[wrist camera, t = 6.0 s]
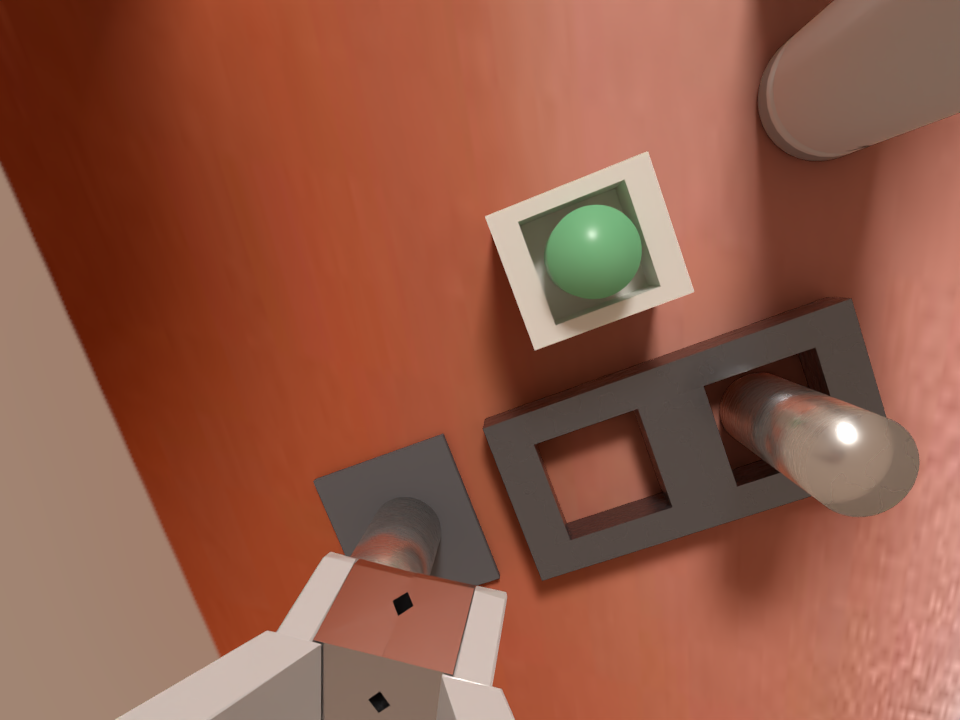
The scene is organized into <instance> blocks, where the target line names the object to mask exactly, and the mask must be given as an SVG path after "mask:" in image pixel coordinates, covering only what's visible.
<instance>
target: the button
mask: <svg viewBox="0 0 960 720" xmlns="http://www.w3.org/2000/svg"><path fill="white" fill-rule="evenodd" d="M641 255H642V245H641V240H640V236H639V233H638V231H637V229H636V227H635V225H634V224H633V223H632V221H631V220H630V219H629V218H628V217H627V216H626V215H625V214H623V213H622V212H621V211H619V210H617V209H615V208H612V207H609V206H605V205H588V206H584V207H580V208H578V209H576V210H574V211H572V212H570V213H569V214H567V215H566V216H565V217H564V218H563V219H562V220H561V221H560V222H559V223H558V224H557V226H556V227H555V228H554V230H553V231H552V232H551V234H550V236H549V238H548V240H547V242H546V245H545V250H544V262H545V267H546V270H547V273H548V275H549V277H550V278H551V280H552V281H553V282H554V284H555V285H556V286H557V287H559V288H560V289H561V290H563V291H565V292H566V293H569V294H571V295H574V296H577V297H581V298H585V299H601V298H606V297H609V296H611V295H614V294H616V293H617V292H619V291H621V290H622V289H623V288H625V287H626V286H627V285H628V284H629V283H630V281H631V280H632V279H633V277H634V276H635V274H636V272H637V270H638V268H639V265H640V261H641Z"/></svg>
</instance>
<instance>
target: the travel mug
mask: <svg viewBox="0 0 960 720" xmlns="http://www.w3.org/2000/svg"><path fill="white" fill-rule="evenodd" d="M758 109H759V115H760V118H761V122H762V125H763V127H764V129H765V131H766V133H767V134H768V136H769V137H770V138H771V140H772V141H773V142H774V143H775V144H776V145H777V146H778V147H779V148H781V149H782V150H783V151H785V152H786V153H788V154H790V155H792V156H794V157H796V158H800V159H804V160H809V161H825V160H831V159H836V158H839V157H841V156H844V155H847V154H849V153H852V152H855V151H858V150H860V149H863V148H866V147H868V146H871V145H874V144H876V143H879V142H882V141H885V140H887V139H890V138H893V137H895V136H898V135H901V134H903V133H906V132H909V131H912V130H914V129H917V128H920V127H922V126H925V125H928V124H931V123H933V122H936V121H939V120H941V119H944V118H947V117H949V116H952V115H955V114H958V113H960V0H834V1H833V2H831V3H830V4H829V5H828V6H827V7H826V8H825V9H823V10H822V11H821V12H820V13H819V14H818V15H816V16H815V17H814V18H813V19H812V20H811V21H810V22H808V23H807V24H806V25H805V26H804V27H803V28H802V29H800V30H799V31H798V32H797V33H796V34H795V35H794V36H792V37H791V38H790V39H789V40H788V41H787V42H786V43H785V44H783V45H782V46H781V47H780V48H779V49H778V50H777V51H776V53H775V54H774V55H773V57H772V58H771V59H770V61H769V63H768V65H767V67H766V69H765V71H764V73H763V75H762V79H761V82H760V85H759V92H758Z"/></svg>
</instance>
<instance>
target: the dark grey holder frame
mask: <svg viewBox="0 0 960 720" xmlns="http://www.w3.org/2000/svg"><path fill="white" fill-rule="evenodd" d="M795 354H799V357H800V360H801V363H802V367H803V370H804V373H805V376H806V380H807V383H808V386H809V388H810V389H812V390H815V391H818V392H820V393H823V394H826V395H828V396H831V397H833V398H836V399H839V400H841V401H844V402H847V403H849V404H852V405H854V406H857V407H860V408H862V409H865V410H868V411H870V412H873V413H875V414H878V415H881V416H883V417H886V414H885V411H884V407H883V404H882V401H881V397H880V394H879V390H878V387H877V384H876V380H875V377H874V373H873V370H872V367H871V363H870V360H869V356H868V353H867V350H866V346H865V343H864V339H863V336H862V333H861V329H860V326H859V322H858V319H857V316H856V312H855V309H854V305H853V302H852V299H851V298H835V297H827V298H824V299H821V300H818V301H815V302H813V303H810V304H807V305H804V306H801V307H799V308H796V309H793V310H790V311H787V312H784V313H782V314H779V315H776V316H773V317H770V318H768V319H765V320H762V321H759V322H756V323H753V324H751V325H748V326H745V327H742V328H739V329H737V330H734V331H731V332H728V333H725V334H722V335H720V336H717V337H714V338H711V339H708V340H706V341H703V342H700V343H697V344H694V345H692V346H689V347H686V348H683V349H680V350H677V351H675V352H672V353H669V354H666V355H663V356H661V357H658V358H655V359H652V360H649V361H646V362H644V363H641V364H638V365H635V366H632V367H630V368H627V369H624V370H621V371H618V372H616V373H613V374H610V375H607V376H604V377H601V378H599V379H596V380H593V381H590V382H587V383H585V384H582V385H579V386H576V387H573V388H570V389H568V390H565V391H562V392H559V393H556V394H554V395H551V396H548V397H545V398H542V399H540V400H537V401H534V402H531V403H528V404H525V405H523V406H520V407H517V408H514V409H511V410H509V411H506V412H503V413H500V414H497V415H494V416H492V417H489V418H486V419H485V421H484V426H483V431H484V433H485V436H486V438H487V441H488V443H489V446H490V449H491V451H492V454H493V456H494V459H495V461H496V464H497V466H498V469H499V472H500V474H501V477H502V479H503V482H504V484H505V487H506V490H507V492H508V495H509V497H510V500H511V502H512V505H513V507H514V510H515V513H516V515H517V518H518V520H519V523H520V525H521V528H522V531H523V533H524V536H525V538H526V541H527V543H528V546H529V548H530V551H531V554H532V556H533V559H534V561H535V564H536V566H537V569H538V572H539V574H540V577H541V579H542V581H543V580H546V579H549V578H552V577H555V576H559V575H562V574H565V573H568V572H571V571H575V570H578V569H581V568H584V567H587V566H590V565H594V564H597V563H600V562H603V561H606V560H610V559H613V558H616V557H619V556H622V555H625V554H629V553H632V552H635V551H638V550H641V549H645V548H648V547H651V546H654V545H657V544H660V543H664V542H667V541H670V540H673V539H676V538H679V537H683V536H686V535H689V534H692V533H695V532H699V531H702V530H705V529H708V528H711V527H714V526H718V525H721V524H724V523H727V522H730V521H734V520H737V519H740V518H743V517H746V516H749V515H753V514H756V513H759V512H762V511H765V510H769V509H772V508H775V507H778V506H781V505H784V504H788V503H791V502H794V501H797V500H800V499H803V498H807V497H810V496H811V495H810V494H809V493H807V492H806V491H805V490H803V489H802V488H800V487H799V486H798V485H796V484H795V483H794V482H792V481H791V480H790V479H788V478H787V477H786V476H784V475H783V474H782V473H780V472H779V471H778V470H776V469H775V468H774V467H772V466H771V465H769V464H768V463H767V462H765V461H764V460H760V461H757V462H754V463H751V464H748V465H745V466H742V467H739V468H736V469H733V470H731V467H730V464H729V461H728V458H727V455H726V452H725V449H724V446H723V443H722V440H721V437H720V434H719V431H718V428H717V425H716V422H715V419H714V416H713V413H712V410H711V407H710V404H709V401H708V398H707V395H706V392H705V389H704V386H705V385H708V384H711V383H714V382H717V381H720V380H722V379H725V378H728V377H731V376H734V375H737V374H740V373H743V372H746V371H748V370H751V369H754V368H757V367H760V366H763V365H766V364H769V363H772V362H775V361H777V360H780V359H783V358H786V357H789V356H792V355H795ZM633 410H634V413H635V416H636V419H637V422H638V424H639V427H640V430H641V433H642V436H643V439H644V441H645V444H646V447H647V450H648V453H649V456H650V458H651V461H652V464H653V467H654V470H655V473H656V475H657V478H658V481H659V484H660V487H661V490H662V493H659V494H656V495H653V496H650V497H647V498H644V499H641V500H638V501H634V502H631V503H628V504H625V505H622V506H619V507H616V508H613V509H610V510H607V511H604V512H601V513H598V514H595V515H591V516H588V517H585V518H582V519H579V520H576V521H573V522H570V523H566V520H565V517H564V515H563V512H562V510H561V507H560V504H559V502H558V499H557V496H556V494H555V491H554V488H553V486H552V483H551V480H550V478H549V475H548V473H547V470H546V467H545V465H544V462H543V459H542V457H541V454H540V451H539V449H538V446H537V443H540V442H543V441H546V440H549V439H552V438H555V437H557V436H560V435H563V434H566V433H569V432H572V431H575V430H578V429H581V428H584V427H586V426H589V425H592V424H595V423H598V422H601V421H604V420H607V419H610V418H612V417H615V416H618V415H621V414H624V413H627V412H630V411H633Z"/></svg>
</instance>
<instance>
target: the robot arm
mask: <svg viewBox="0 0 960 720" xmlns="http://www.w3.org/2000/svg"><path fill="white" fill-rule="evenodd" d="M506 601H507V593H506V592H503V591H499V590H494V589H490V588H485V587H480V586H476V585H472V584H467V583H462V582H458V581H453V580H449V579H444V578H439V577H435V576H430V575H426V574H421V573H414V572H410V571H406V570H402V569H398V568H394V567H390V566H386V565H383V564H379V563H375V562H371V561H367V560H363V559H357V558H353V557H349V556H345V555H341V554H337V553H333V552H329V553H328V554H327V555H326V556H325V557H323V558H322V560H321V562H320V563H319V565H318V566H317V568H316V570H315V571H314V573H313V574H312V576H311V577H310V579H309V581H308V582H307V584H306V585H305V587H304V589H303V590H302V592H301V593H300V595H299V597H298V598H297V600H296V601H295V603H294V605H293V606H292V608H291V609H290V611H289V613H288V614H287V616H286V617H285V619H284V621H283V622H282V624H281V625H280V627H279V629H278V630H277V632H272V631H265V632H263V633H262V634H260V635H258V636H257V637H255V638H253V639H251V640H250V641H248V642H246V643H245V644H243V645H241V646H240V647H238V648H236V649H234V650H233V651H231V652H229V653H228V654H226V655H224V656H222V657H221V658H219V659H217V660H216V661H214V662H212V663H211V664H209V665H207V666H206V667H204V668H202V669H200V670H199V671H197V672H195V673H193V674H192V675H190V676H188V677H187V678H185V679H183V680H182V681H180V682H178V683H176V684H175V685H173V686H171V687H170V688H168V689H166V690H165V691H163V692H161V693H159V694H158V695H156V696H154V697H153V698H151V699H149V700H147V701H146V702H144V703H142V704H141V705H139V706H137V707H136V708H134V709H132V710H130V711H129V712H127V713H125V714H124V715H122V716H120V717H118V718H117V719H115V720H515V718H514V716H513V714H512V711H511V709H510V707H509V704H508V702H507V700H506V697H505V695H504V693H503V691H502V689H499V688H496V687H493V686H492V684H493V678H494V672H495V666H496V660H497V654H498V649H499V643H500V637H501V631H502V625H503V619H504V613H505V607H506Z"/></svg>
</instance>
